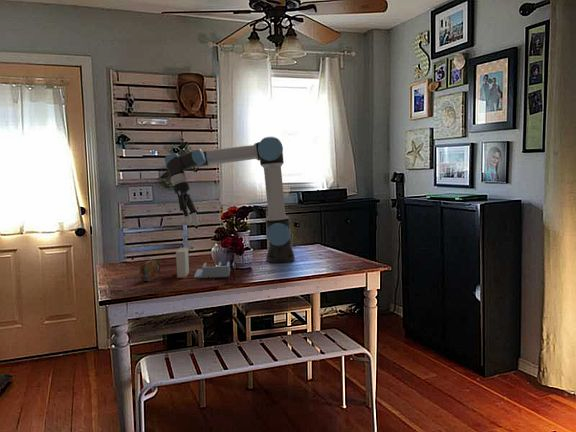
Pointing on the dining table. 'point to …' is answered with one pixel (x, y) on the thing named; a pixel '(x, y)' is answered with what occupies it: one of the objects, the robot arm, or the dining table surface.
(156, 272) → the mottled brown flat piece
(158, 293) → the dining table surface
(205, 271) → the rack
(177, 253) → the cream upright slab
